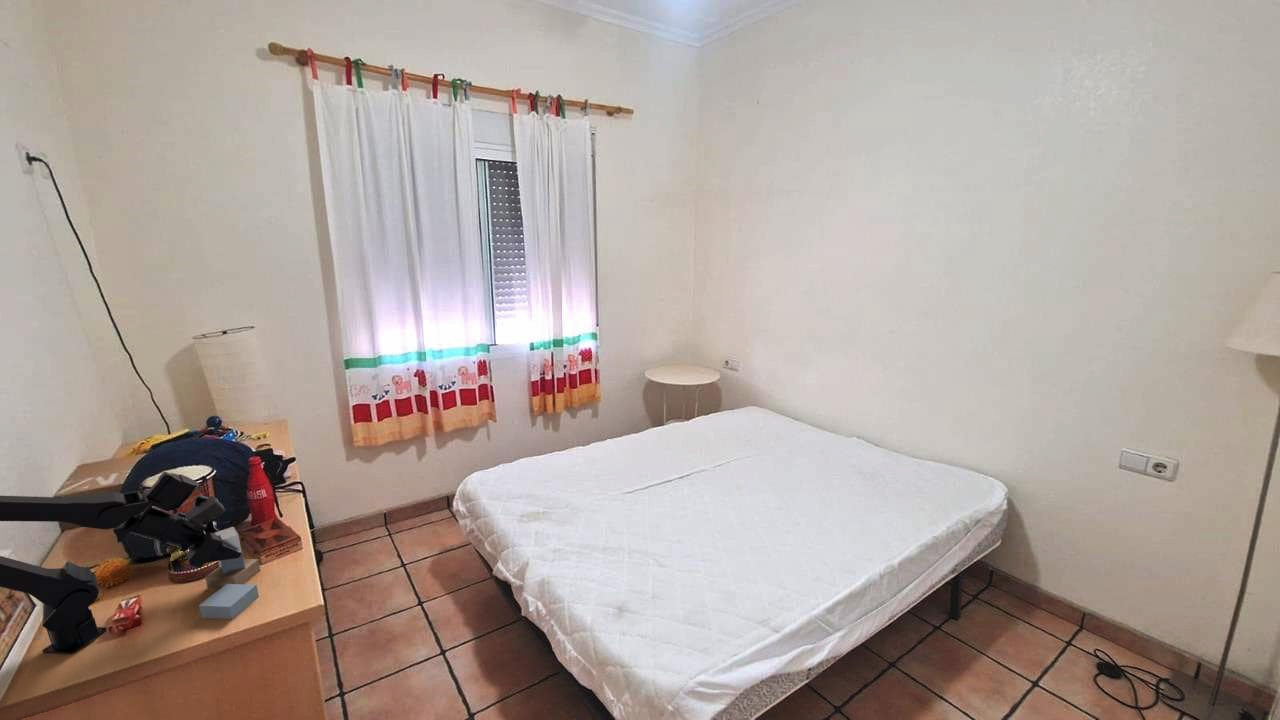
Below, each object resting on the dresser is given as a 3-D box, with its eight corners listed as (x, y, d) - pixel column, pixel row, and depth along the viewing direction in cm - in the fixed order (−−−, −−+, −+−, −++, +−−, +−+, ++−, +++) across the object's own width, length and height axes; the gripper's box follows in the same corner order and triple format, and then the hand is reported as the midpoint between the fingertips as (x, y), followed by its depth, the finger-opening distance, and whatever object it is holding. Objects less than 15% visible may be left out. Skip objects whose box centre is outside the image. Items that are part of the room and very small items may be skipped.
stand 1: (207, 588, 117) (205, 577, 116) (233, 569, 123) (230, 558, 123) (236, 589, 116) (234, 578, 116) (260, 570, 123) (258, 559, 122)
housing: (223, 576, 116) (216, 542, 114) (219, 567, 119) (212, 533, 117) (245, 568, 119) (238, 534, 117) (240, 559, 122) (233, 526, 120)
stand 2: (201, 617, 108) (198, 605, 107) (229, 595, 114) (226, 583, 114) (232, 618, 107) (230, 606, 106) (258, 596, 114) (256, 584, 113)
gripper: (199, 507, 105) (271, 532, 116) (185, 479, 117) (252, 504, 128) (156, 557, 101) (235, 578, 112) (146, 523, 114) (218, 545, 124)
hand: (236, 548), depth 119 cm, fingers open, 8 cm apart
